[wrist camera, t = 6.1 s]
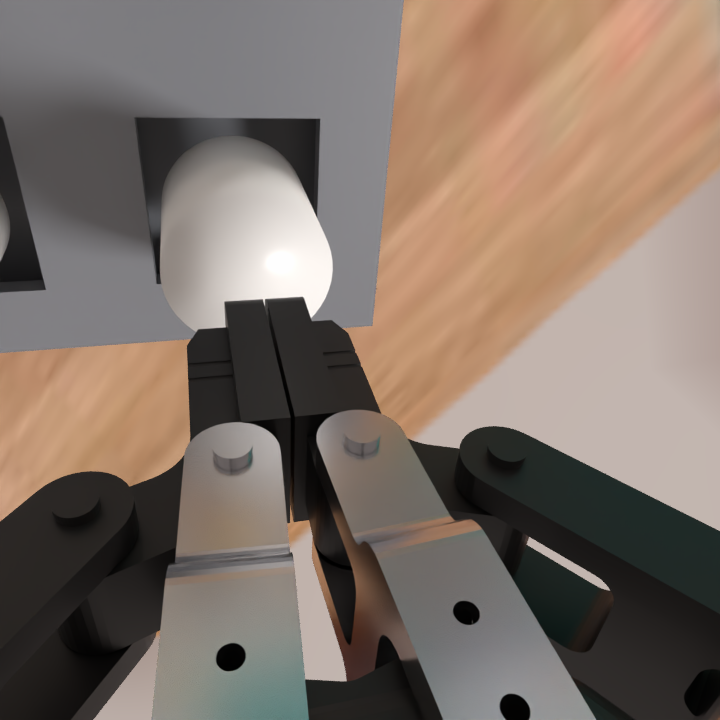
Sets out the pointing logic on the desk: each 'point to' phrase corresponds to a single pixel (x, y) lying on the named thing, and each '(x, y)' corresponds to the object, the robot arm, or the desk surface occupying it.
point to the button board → (178, 146)
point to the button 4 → (238, 232)
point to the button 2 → (4, 227)
